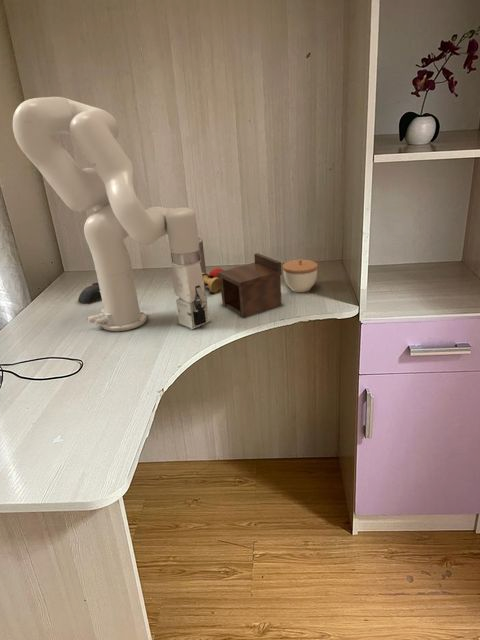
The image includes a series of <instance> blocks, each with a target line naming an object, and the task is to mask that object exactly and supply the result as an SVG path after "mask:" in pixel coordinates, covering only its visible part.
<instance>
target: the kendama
mask: <svg viewBox="0 0 480 640" xmlns="http://www.w3.org/2000/svg"><path fill="white" fill-rule="evenodd" d="M221 271H224V269H223V268H220V267H216V268H212V269H211V271H210V272H209V274H208V273H207V272H206V273H202V276H203V282H204V289H205V288H206V287H207V288H208V290H209V291H210V292H212V293H218V292H219V291H221V285H220V277H219V276H218V272H221Z"/></svg>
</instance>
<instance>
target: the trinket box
mask: <svg viewBox="0 0 480 640" xmlns="http://www.w3.org/2000/svg"><path fill="white" fill-rule="evenodd" d="M318 269H319V264H318V263H317V261H314V260H311V259H302V258H301V259H300V258H299V259H293V260H289V261H287V262H284V263H283V265H282V270H283V271H282V274H283V279H284V282H285V284H286V286H287V287H288V288H289V289H290V290H291V291H292V292H294V293H305V292H309V291H310V290H311V288H313V287H314V285H315V284H316V282H317V279H318V271H319V270H318Z"/></svg>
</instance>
